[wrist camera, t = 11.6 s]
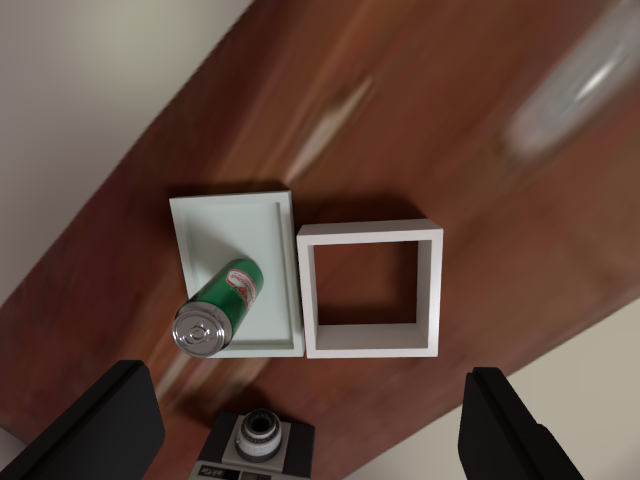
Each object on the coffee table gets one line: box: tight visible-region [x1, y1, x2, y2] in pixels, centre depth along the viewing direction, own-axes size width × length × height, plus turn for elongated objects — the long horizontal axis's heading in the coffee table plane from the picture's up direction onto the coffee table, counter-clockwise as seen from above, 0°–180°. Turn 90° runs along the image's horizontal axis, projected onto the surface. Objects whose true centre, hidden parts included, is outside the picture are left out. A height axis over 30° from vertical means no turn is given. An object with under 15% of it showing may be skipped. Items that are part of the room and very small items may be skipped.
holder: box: [297, 219, 443, 358], centre depth 33 cm, size 14×14×5 cm
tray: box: [169, 190, 305, 358], centre depth 35 cm, size 20×13×2 cm, turn 4°
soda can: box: [172, 259, 264, 358], centre depth 30 cm, size 5×5×12 cm
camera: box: [188, 408, 315, 480], centre depth 37 cm, size 14×8×10 cm, turn 82°
